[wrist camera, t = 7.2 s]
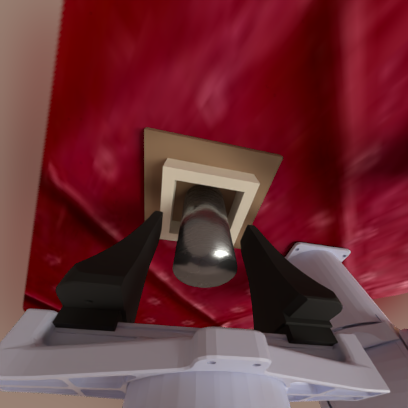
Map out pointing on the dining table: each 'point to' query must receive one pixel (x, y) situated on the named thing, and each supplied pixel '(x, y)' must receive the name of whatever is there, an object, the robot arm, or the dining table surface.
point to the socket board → (204, 178)
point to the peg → (204, 240)
